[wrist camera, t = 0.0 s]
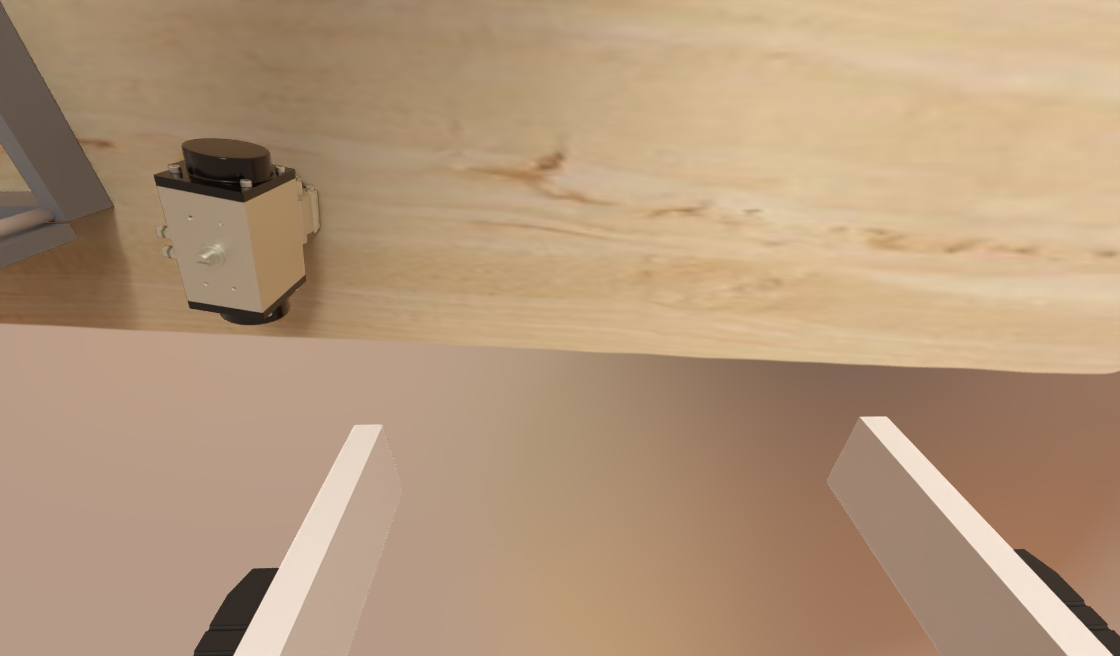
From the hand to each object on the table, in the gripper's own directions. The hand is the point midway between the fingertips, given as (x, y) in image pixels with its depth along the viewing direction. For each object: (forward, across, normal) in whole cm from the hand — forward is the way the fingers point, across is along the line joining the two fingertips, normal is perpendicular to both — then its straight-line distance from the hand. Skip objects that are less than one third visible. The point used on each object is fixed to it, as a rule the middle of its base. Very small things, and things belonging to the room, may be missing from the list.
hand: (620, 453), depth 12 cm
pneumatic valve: (+28, -23, -1) cm, 37 cm away
